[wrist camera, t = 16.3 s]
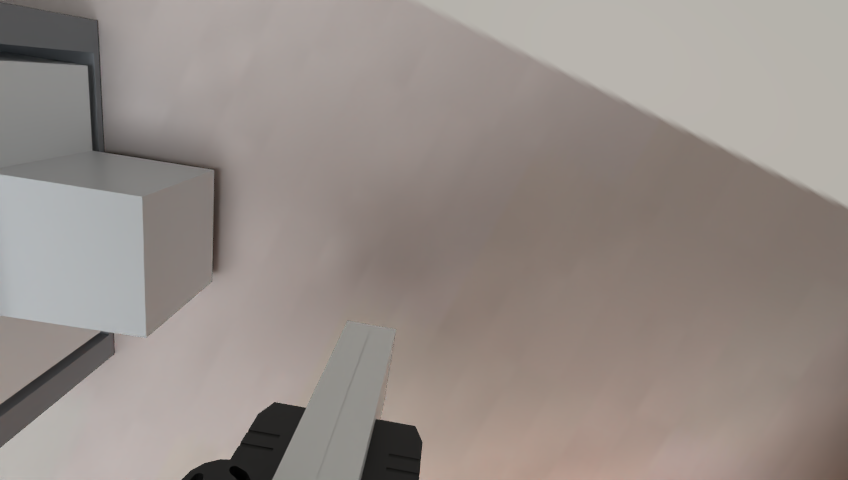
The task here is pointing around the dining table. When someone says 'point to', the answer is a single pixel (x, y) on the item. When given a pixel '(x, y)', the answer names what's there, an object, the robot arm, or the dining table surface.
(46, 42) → the housing
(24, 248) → the drawer
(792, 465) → the dining table surface
